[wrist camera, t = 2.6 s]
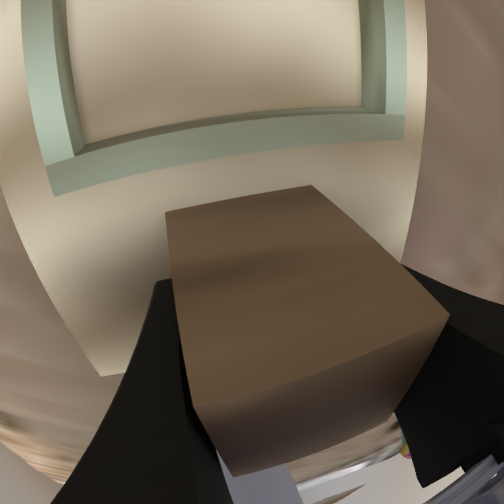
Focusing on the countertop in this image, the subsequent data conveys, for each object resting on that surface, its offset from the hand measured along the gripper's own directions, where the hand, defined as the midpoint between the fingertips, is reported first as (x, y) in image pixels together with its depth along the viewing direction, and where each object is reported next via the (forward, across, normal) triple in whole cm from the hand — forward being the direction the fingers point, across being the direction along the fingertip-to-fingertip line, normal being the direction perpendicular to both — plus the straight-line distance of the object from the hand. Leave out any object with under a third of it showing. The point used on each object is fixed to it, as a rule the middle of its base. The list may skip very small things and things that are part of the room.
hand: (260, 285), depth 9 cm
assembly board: (+2, 0, -4) cm, 5 cm away
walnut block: (+1, 0, 0) cm, 1 cm away
